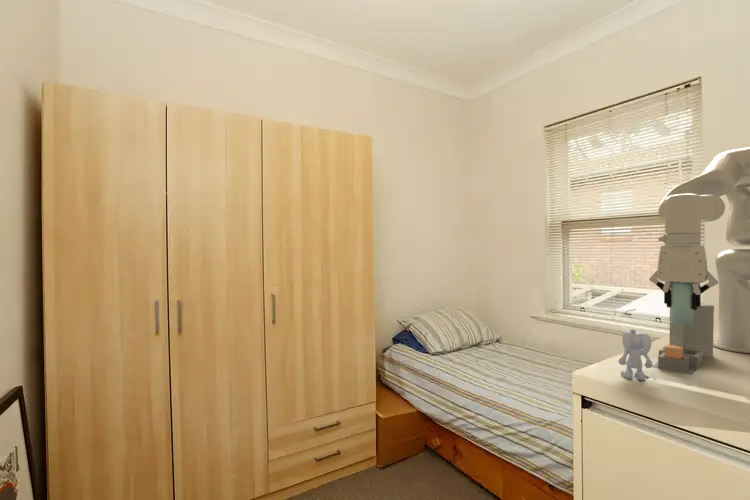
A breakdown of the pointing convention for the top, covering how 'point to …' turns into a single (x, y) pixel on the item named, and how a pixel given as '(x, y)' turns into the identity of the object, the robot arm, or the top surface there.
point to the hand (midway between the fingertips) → (681, 307)
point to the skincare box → (695, 331)
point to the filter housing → (680, 361)
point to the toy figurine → (635, 353)
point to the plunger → (674, 352)
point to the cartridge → (682, 303)
